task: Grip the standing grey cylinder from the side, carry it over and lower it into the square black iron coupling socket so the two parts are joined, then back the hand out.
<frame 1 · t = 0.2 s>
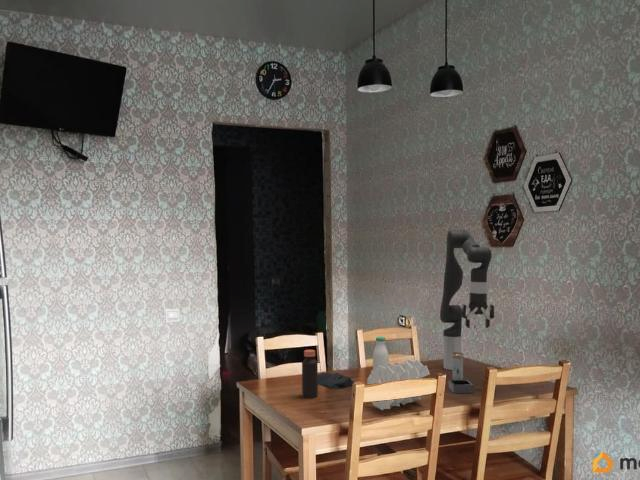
hand: (477, 327, 259), 28 cm above the table, tool pointing down, fingers open, 8 cm apart
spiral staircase: (396, 405, 238), on the table
socket: (460, 390, 260), on the table
milk bottle: (380, 378, 284), on the table
vinegar: (310, 396, 253), on the table
grey cylinder: (457, 383, 273), on the table
cast iron trivet: (332, 384, 276), on the table
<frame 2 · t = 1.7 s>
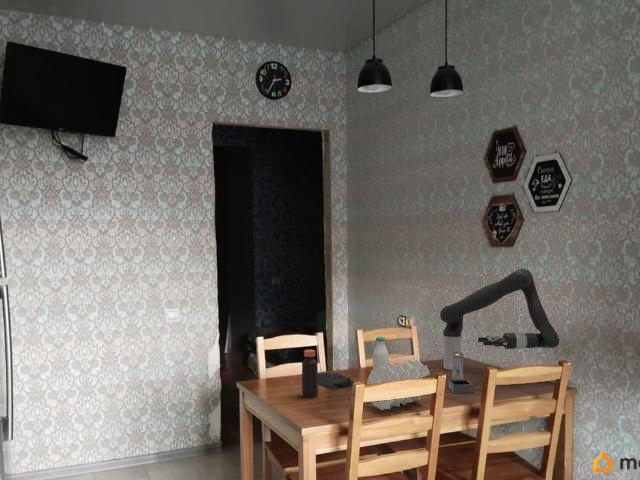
hand: (480, 341, 273), 20 cm above the table, tool horizontal, fingers open, 8 cm apart
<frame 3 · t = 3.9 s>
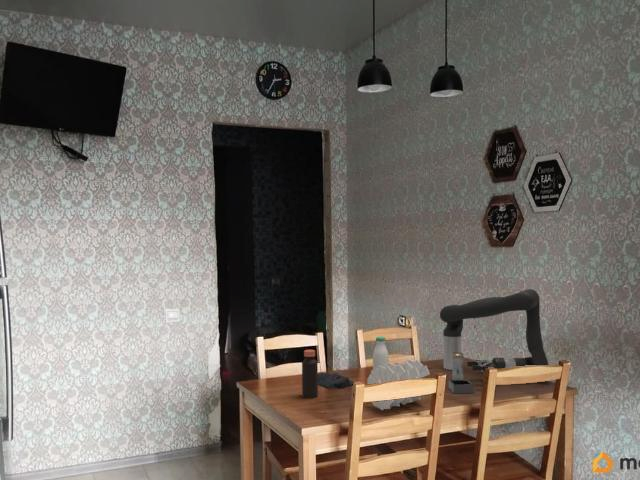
hand: (469, 366, 273), 8 cm above the table, tool horizontal, fingers open, 8 cm apart
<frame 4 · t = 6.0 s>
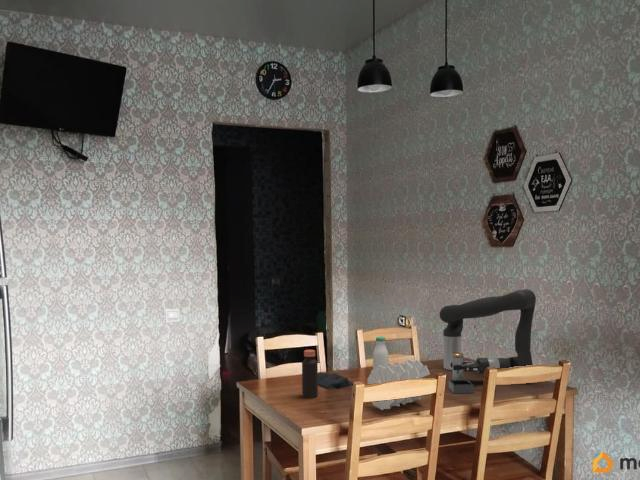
hand: (452, 366, 273), 8 cm above the table, tool horizontal, fingers closed on grey cylinder, 4 cm apart
grey cylinder: (457, 383, 273), on the table, touching gripper
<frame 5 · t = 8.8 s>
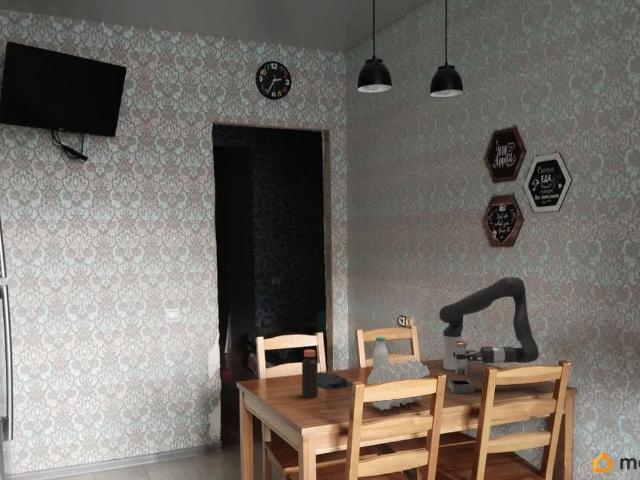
hand: (455, 355, 260), 16 cm above the table, tool horizontal, fingers closed on grey cylinder, 4 cm apart
grey cylinder: (461, 373, 260), point 8 cm above the table, touching gripper
when the fingers open (10 cm above the table, at t = 10.2 s): grey cylinder drops 1 cm, resting on socket.
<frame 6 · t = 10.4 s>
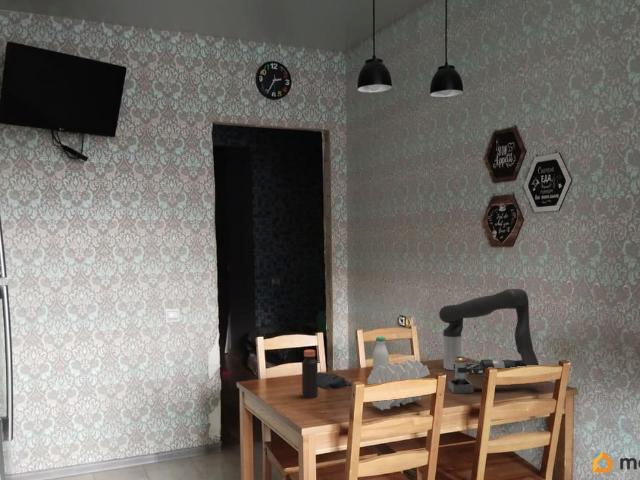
hand: (455, 368, 260), 10 cm above the table, tool horizontal, fingers open, 6 cm apart
grey cylinder: (461, 388, 260), point 1 cm above the table, touching socket
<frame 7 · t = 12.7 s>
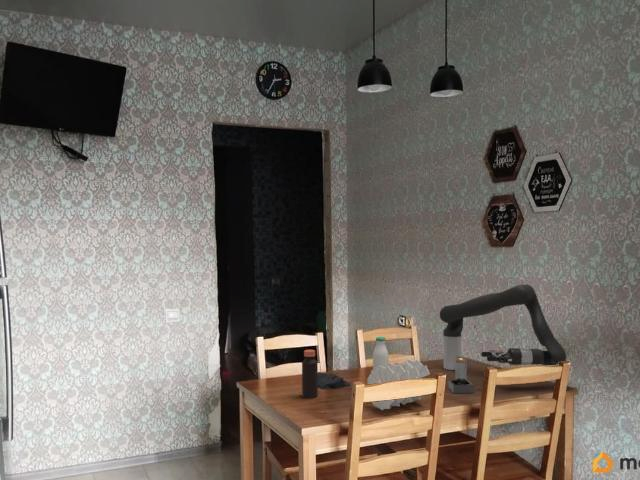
hand: (484, 356, 262), 15 cm above the table, tool horizontal, fingers open, 8 cm apart
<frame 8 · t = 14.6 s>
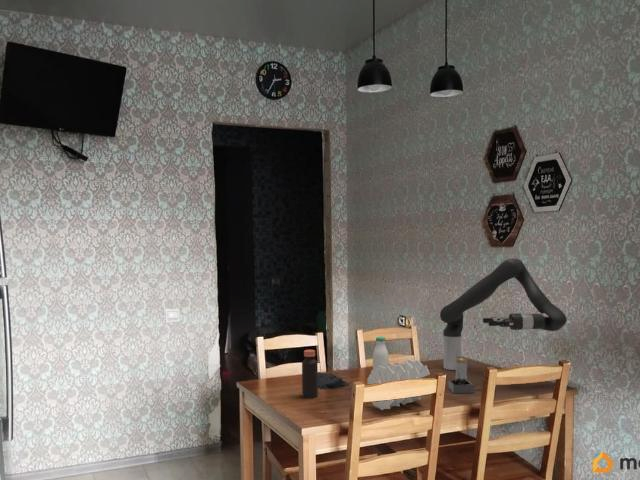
hand: (485, 322, 265), 30 cm above the table, tool horizontal, fingers open, 8 cm apart
at the end: grey cylinder 0.1 cm off-centre on the socket, point 0.7 cm above the socket's base; grey cylinder tilted 1°; the gripper is holding nothing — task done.
